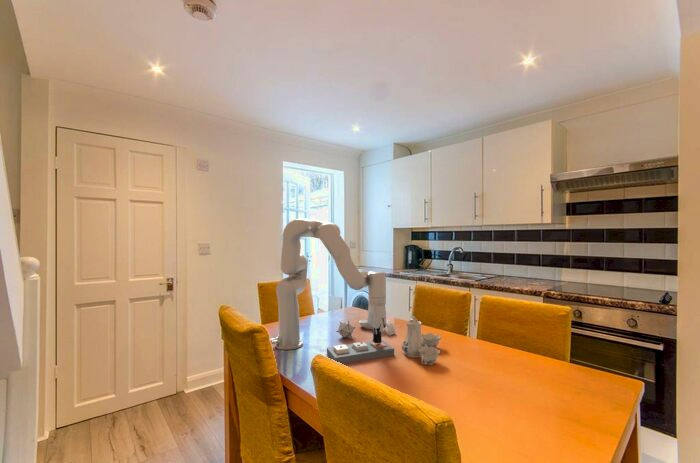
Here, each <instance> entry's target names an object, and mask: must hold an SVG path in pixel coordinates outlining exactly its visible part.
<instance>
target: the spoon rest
mask: <svg viewBox="0 0 700 463" xmlns="http://www.w3.org/2000/svg"><path fill="white" fill-rule="evenodd" d="M358 323H359V325H360V326H361V328H364V329H366V330H373V327H372V326H371V325H369V324H368V318H365V319H360V320H359V321H358ZM386 329H387V335H388V336H389V337H390V336H393V335H395V334H396V329H395V327H394V324H393V323H392V322H391V320H389V319H388V318H386Z"/></svg>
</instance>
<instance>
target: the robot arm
mask: <svg viewBox="0 0 700 463" xmlns="http://www.w3.org/2000/svg"><path fill="white" fill-rule="evenodd" d="M301 238H315V239H319V240H320V242H321V243H322V244H323V246H324V247H325V248H326V250H327V252H328V253H329V254H330V255H331V257H332V259H333V260H334V264H335V265H336V268H337V270H338V272H339V274H340V276H341V277H342V278H343V280H344V281H345V283H346V284H347V285H348V287H350V289H352V290H354V291H360V290H362V289H364V288H366V287H368V305H367V306H368V307H367V319H368V324H369V325H371V326H372V327H373V329H372V333H373V334H372V339H373V340H372V341H373V342H374V343H381V342H382V341H381V340H382V333H384V332H385V328H387V325H386V319H387V311H386V310H387V308H386V305H387V282H386V281H387V280H386V278H387V275H386V273H385V272H384V271H378V270H377V271H369V270H364V269H360V270H359V269H358V268H357V266H356V265H355V263H354V261H353V259H352V256H351V249H350V246H348V244H347V243H346V241H345V240H344V239H343V237H342V235H341V230H340V227H339V226H338V225H337V224H336V223H333V222H325V221H322V220H321V221H320V220H317V219H316V220H315V219H311V218H310V219H308V218H295V219H293V220H291V221H289V222H288V223H287V224H286V226H284V229H283V232H282V244H281V245H282V246H281V255H280V256H281V258H280V271H281V272H282V273H283V274H285V275H287V277H284V278H283V279H281V280H279V281H278V283H277V284H276V287H275V288H276V289H275V291H276V298H277V306H278V307H277V308H278V309H277V311H278V312H277V313H278V335H277V336H276V337H273V338H269V339H270V340H271V343H270V344H272V345H273V344H275V348H276V349H278V350H280V351H281V350H283V351H290V350H296V349H299V348H301V347H303V345H304V341H303V339H301V338H300V336H301V335H300V334H301V332H300V304H299V299H298V295H300V294H302V293H303V292H304V291H305V290H306V286H307V279H308V278H307V276H308V260H307V258H306V257H305V256H304V254H302V253H301V248H302V247H301V244H302V243H301Z"/></svg>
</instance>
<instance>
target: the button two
mask: <svg viewBox="0 0 700 463" xmlns="http://www.w3.org/2000/svg"><path fill="white" fill-rule="evenodd" d="M352 344H353V349H354V350H355V351H362V350H368V345H367V344H366V343H364V341H360V342H359V341H358V342H352Z"/></svg>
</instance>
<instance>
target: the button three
mask: <svg viewBox="0 0 700 463" xmlns="http://www.w3.org/2000/svg"><path fill="white" fill-rule="evenodd" d="M371 346H373V347H374V348H382V347H386V345H385V344H384V343H382V342H381V343H371Z"/></svg>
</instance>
